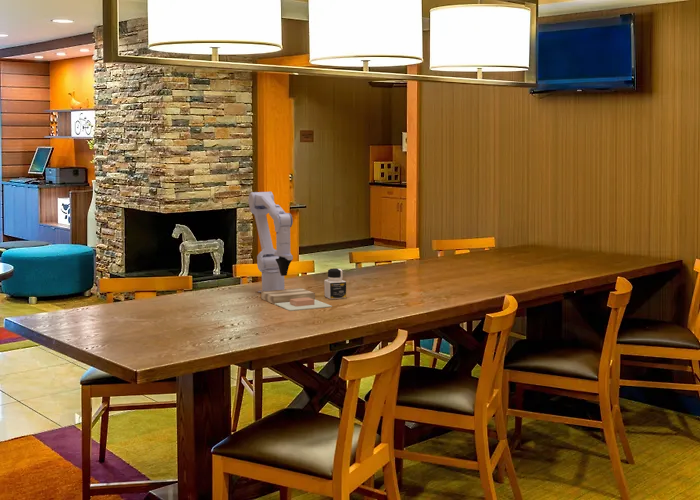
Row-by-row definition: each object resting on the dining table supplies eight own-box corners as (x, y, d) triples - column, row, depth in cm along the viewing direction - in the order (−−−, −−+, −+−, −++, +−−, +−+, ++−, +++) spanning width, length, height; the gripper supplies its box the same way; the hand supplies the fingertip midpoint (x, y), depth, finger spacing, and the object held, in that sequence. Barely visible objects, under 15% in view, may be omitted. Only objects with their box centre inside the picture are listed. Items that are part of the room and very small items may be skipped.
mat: (274, 304, 361) (274, 303, 361) (315, 300, 369) (315, 299, 369) (289, 311, 347) (289, 310, 347) (332, 306, 355) (332, 305, 355)
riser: (261, 298, 373) (261, 291, 373) (301, 294, 382) (300, 287, 381) (274, 304, 361) (273, 296, 361) (314, 300, 369) (314, 293, 369)
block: (295, 301, 354) (295, 306, 354) (314, 299, 357) (314, 304, 358) (289, 298, 359) (289, 303, 359) (308, 297, 363) (308, 302, 363)
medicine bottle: (330, 299, 371) (330, 270, 370) (324, 296, 378) (324, 268, 376) (346, 298, 374) (346, 269, 372) (340, 295, 380) (340, 267, 379)
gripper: (267, 241, 377) (268, 273, 378) (281, 245, 364) (281, 278, 365) (283, 240, 380) (283, 272, 381) (297, 244, 367) (297, 277, 369)
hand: (283, 275), depth 374 cm, fingers closed
